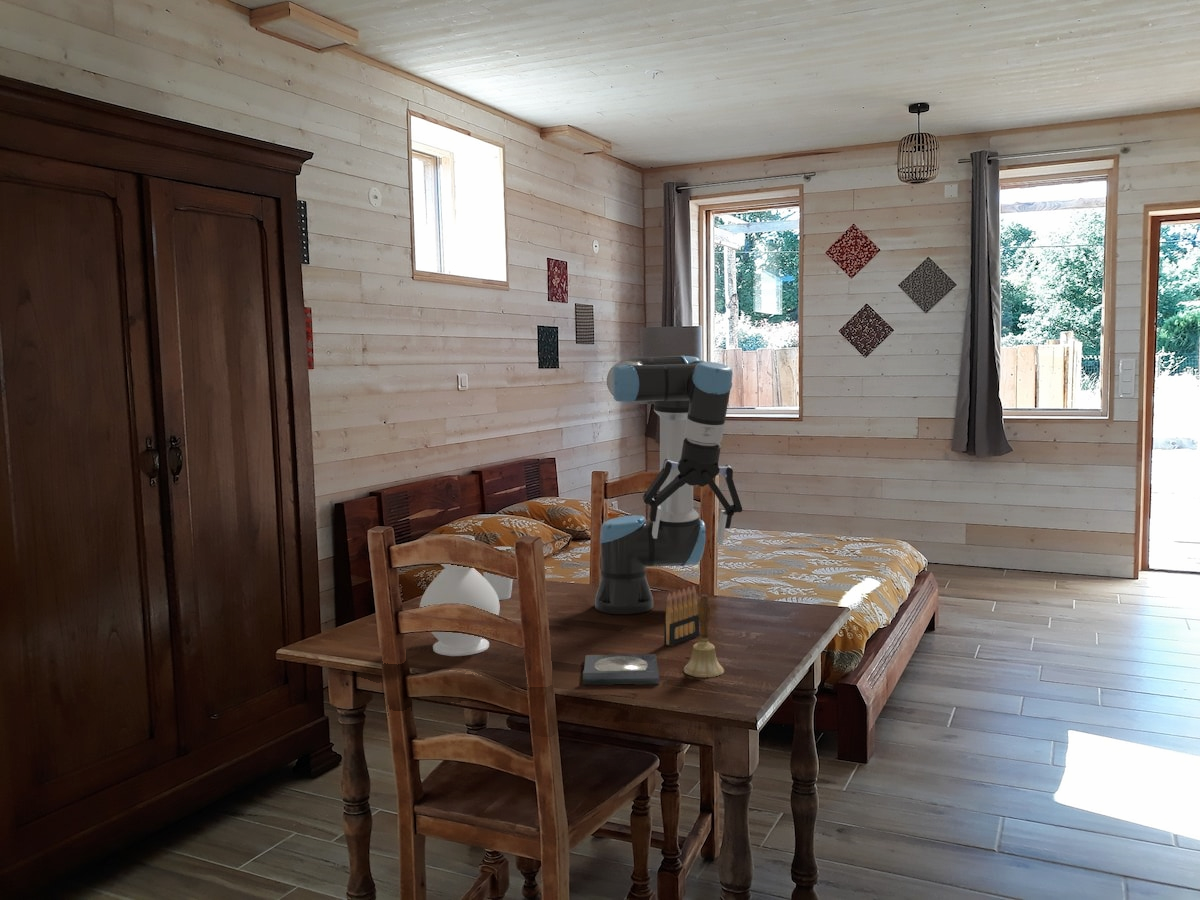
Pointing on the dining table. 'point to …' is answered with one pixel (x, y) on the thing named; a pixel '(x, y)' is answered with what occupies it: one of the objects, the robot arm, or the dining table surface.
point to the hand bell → (703, 647)
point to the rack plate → (620, 669)
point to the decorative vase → (461, 589)
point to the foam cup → (500, 582)
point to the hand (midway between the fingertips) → (686, 539)
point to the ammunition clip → (681, 617)
